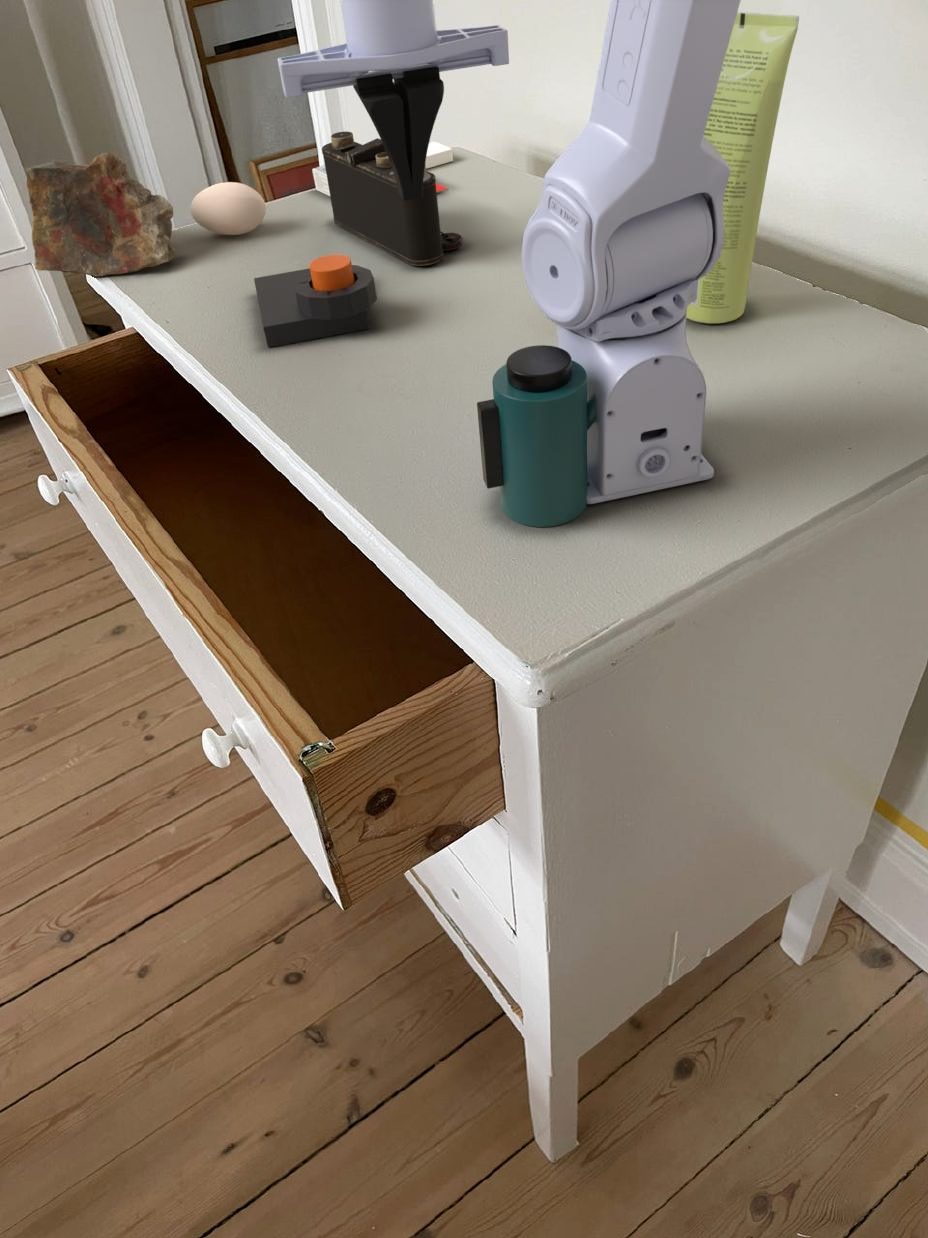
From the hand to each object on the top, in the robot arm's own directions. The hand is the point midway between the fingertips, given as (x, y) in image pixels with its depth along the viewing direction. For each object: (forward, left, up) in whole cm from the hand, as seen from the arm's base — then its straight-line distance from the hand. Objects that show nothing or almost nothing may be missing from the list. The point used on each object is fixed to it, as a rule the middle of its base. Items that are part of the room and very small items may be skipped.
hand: (410, 194), depth 67 cm
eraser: (+44, -10, -11) cm, 46 cm away
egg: (+28, +9, -8) cm, 31 cm away
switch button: (+5, +6, -7) cm, 11 cm away
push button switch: (+8, +8, -10) cm, 15 cm away
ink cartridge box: (+33, +2, -9) cm, 34 cm away
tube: (-5, -21, -11) cm, 24 cm away
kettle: (-24, -2, -10) cm, 26 cm away
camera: (+21, -2, -10) cm, 24 cm away
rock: (+30, +22, -10) cm, 38 cm away
